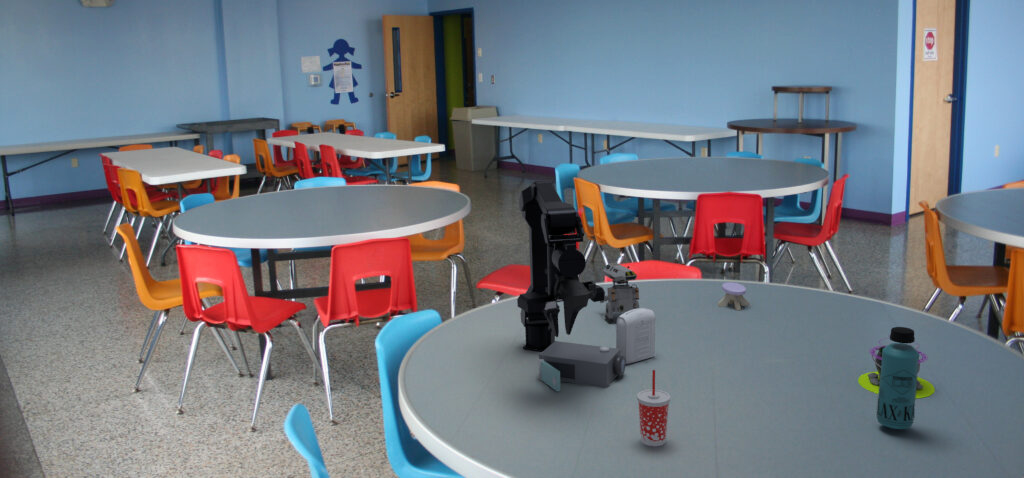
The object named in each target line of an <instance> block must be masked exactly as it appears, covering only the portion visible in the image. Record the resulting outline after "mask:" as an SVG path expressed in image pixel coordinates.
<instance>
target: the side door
mask: <svg viewBox="0 0 1024 478" xmlns="http://www.w3.org/2000/svg"><path fill="white" fill-rule="evenodd" d="M538 380H539V381H542V382H543V383H545V384H546V385H548V387H551V388H552V389H553V390H555V391H556V392H560V391H561V381H560V371H558V370H557V369H555V368H554V367H553V366H551V365H550V364H548V363H547V362H545V361H544V359H539V358H538Z"/></svg>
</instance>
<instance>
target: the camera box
mask: <svg viewBox="0 0 1024 478" xmlns="http://www.w3.org/2000/svg"><path fill="white" fill-rule="evenodd" d="M539 359H544V361H545V362H547V363H548V364H550V365H551V366H553V367H554V368H555V369H557V370H558V371H560V382H567V383H573V384H578V385H579V384H580V385H584V386H585V385H586V386H594V387H600V388H608V387H609V386H610V385H611V383H612V382H613V381H614V380H615V379H616V378H617V376H620V377H621V376H623V375H624V373H625V370H626V365H627V364H626V360H625V357H624V356H621V355H620V349H617V348H616V347H609V346H601V345H600V346H598V345H593V344H592V345H591V344H582V343H577V342H576V343H575V342H567V341H559V340H555V342H554V343H552V344H551V345H550V346H549V347H548V348H547V349H545V350H544V351H541V352H540V354H538V360H539Z"/></svg>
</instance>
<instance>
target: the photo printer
mask: <svg viewBox="0 0 1024 478" xmlns="http://www.w3.org/2000/svg"><path fill="white" fill-rule="evenodd" d="M615 329H616V332H615V333H616V334H615V335H616V336H615V338H616V339H615V345H616V346H615V348H617V349H620V355H621V356H624V357H625V360H626V365H629V364H633V363H636V362H639V361H644V360H647V359H651V358H653V357H655V354H656V315H655V313H654V311H653V310H652V309H648V308H646V307H645V308H644V307H639V308H638V309H633V310H630V311H627V312H623V313H622V314H621V315H619V316H618V317H617V319H616V328H615Z"/></svg>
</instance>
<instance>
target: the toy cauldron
mask: <svg viewBox="0 0 1024 478" xmlns="http://www.w3.org/2000/svg"><path fill="white" fill-rule="evenodd" d="M886 339H889V337H887V338H881V339H879V340H878V343H879V345H877V346H873V347H870V348H869V349H868V353H869V354H870V355H871V358H872V361H873V363H874V365H875V368H876V370H877V371H869V372H865V373H863V374H861V375H860V376H859V377H858V379H857V383H858V384H859V386H860V387H862V388H863V389H865V390H867V391H868V392H871V393H874V394H876V395H879V385H880V382H879V381H880V380H879V379H880V376H881V365H882V354H883V353H882V350H883V348H885V347H886V346H887V345H883V344H882V343H881V341H883V340H886ZM916 345H917V347H916V348H915V349H916V350H917V351H918V353H919V355H920V356H921V359H919V361H918V372H917V375H918V374H919V372H920V370H921V369H920V368H921V363H925V362H926V361H928V359H929V355H926V354H925V353H924V352H922V351H920V350H918V349H919V348H920V345H919V343H917V342H916ZM876 351H878V352H877V353H876ZM917 378H918V379H917V385H916V392H917V393H916V396H915V399H916V400H918V399H923V398H924V399H925V398H927V397H932V395H933V394H935V392H936V389H935V387H934V384H932V383H931V382H929V381H928V380H926V379H924V378H921V377H919V376H917Z"/></svg>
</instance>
